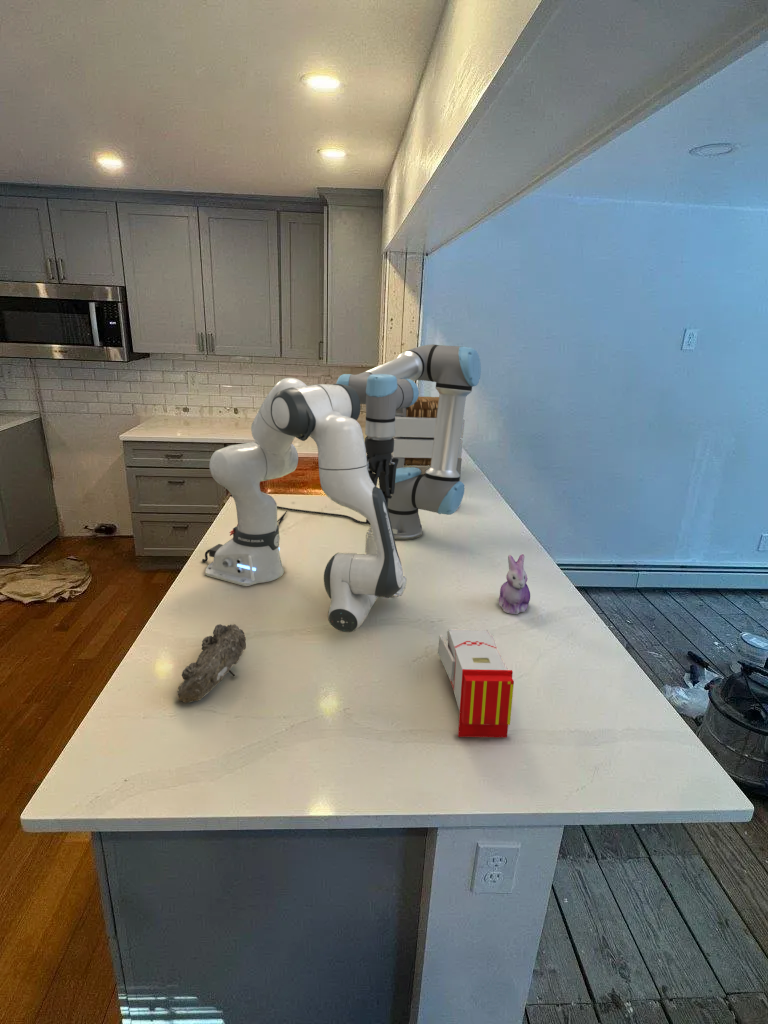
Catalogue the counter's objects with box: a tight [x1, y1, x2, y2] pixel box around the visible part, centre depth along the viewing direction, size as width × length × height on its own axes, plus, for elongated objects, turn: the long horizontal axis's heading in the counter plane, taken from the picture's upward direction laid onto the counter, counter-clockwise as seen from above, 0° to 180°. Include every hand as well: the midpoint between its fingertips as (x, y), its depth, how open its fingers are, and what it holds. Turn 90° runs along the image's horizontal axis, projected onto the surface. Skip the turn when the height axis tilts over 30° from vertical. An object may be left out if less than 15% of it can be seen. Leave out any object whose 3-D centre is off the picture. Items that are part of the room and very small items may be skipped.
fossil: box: [176, 623, 247, 704], centre depth 119 cm, size 22×10×15 cm
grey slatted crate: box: [391, 396, 465, 481], centre depth 268 cm, size 34×33×41 cm
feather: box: [277, 510, 288, 528], centre depth 213 cm, size 2×28×2 cm
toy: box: [437, 628, 515, 738], centre depth 117 cm, size 12×13×30 cm
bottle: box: [364, 525, 377, 554], centre depth 156 cm, size 5×5×22 cm
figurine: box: [498, 553, 531, 615], centre depth 151 cm, size 9×10×15 cm
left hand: (374, 568), depth 158 cm, fingers closed on bottle, 5 cm apart
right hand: (376, 522), depth 152 cm, fingers closed on cap, 4 cm apart
